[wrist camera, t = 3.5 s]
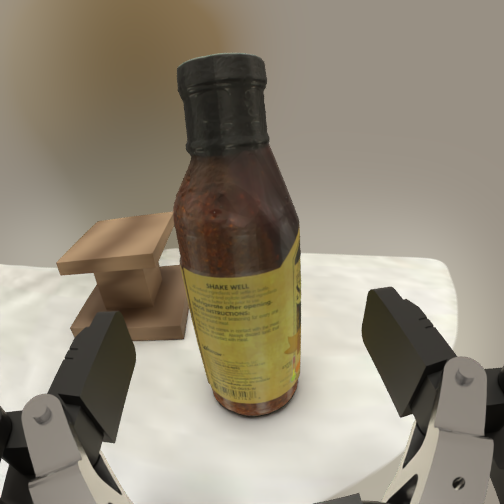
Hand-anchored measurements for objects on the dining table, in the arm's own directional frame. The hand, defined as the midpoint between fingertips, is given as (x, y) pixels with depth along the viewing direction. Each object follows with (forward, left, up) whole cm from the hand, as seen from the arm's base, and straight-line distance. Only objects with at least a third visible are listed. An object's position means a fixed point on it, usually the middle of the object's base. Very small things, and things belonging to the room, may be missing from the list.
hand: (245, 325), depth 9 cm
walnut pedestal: (-11, +18, -11) cm, 23 cm away
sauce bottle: (0, +7, -11) cm, 13 cm away
